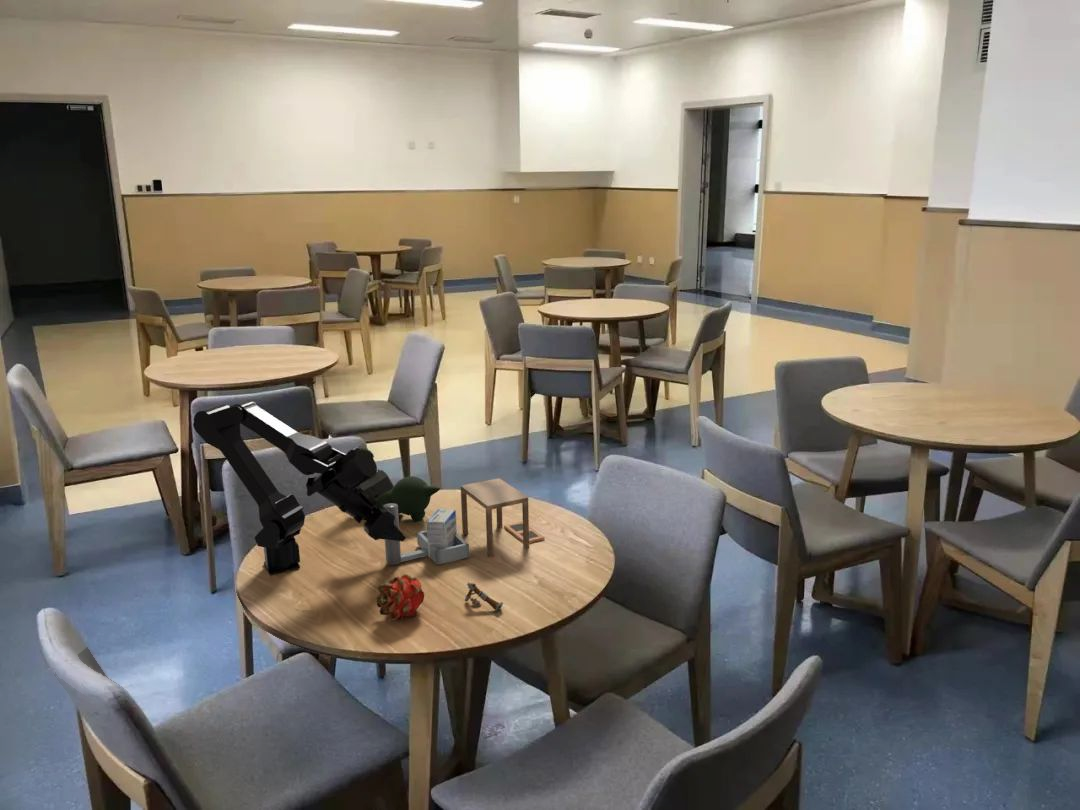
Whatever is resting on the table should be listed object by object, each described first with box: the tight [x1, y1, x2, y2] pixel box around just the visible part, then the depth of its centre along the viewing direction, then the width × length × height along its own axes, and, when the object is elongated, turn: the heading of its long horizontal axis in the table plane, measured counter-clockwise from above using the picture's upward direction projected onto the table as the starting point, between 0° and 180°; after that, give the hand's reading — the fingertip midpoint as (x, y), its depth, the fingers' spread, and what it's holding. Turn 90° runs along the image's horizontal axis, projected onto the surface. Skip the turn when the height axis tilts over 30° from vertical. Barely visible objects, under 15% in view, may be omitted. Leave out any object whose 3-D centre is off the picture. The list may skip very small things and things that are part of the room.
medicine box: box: [425, 508, 458, 558], centre depth 182 cm, size 8×4×9 cm, turn 168°
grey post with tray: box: [383, 503, 470, 566], centre depth 179 cm, size 17×12×13 cm
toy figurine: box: [358, 447, 441, 523], centre depth 200 cm, size 9×19×25 cm
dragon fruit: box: [376, 573, 425, 621], centre depth 156 cm, size 8×8×12 cm
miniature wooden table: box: [460, 477, 530, 558], centre depth 187 cm, size 10×15×12 cm
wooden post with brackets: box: [464, 582, 504, 614], centre depth 158 cm, size 2×8×4 cm, turn 61°
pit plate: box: [503, 520, 545, 544], centre depth 192 cm, size 5×11×1 cm, turn 29°
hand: (397, 531), depth 176 cm, fingers open, 9 cm apart
